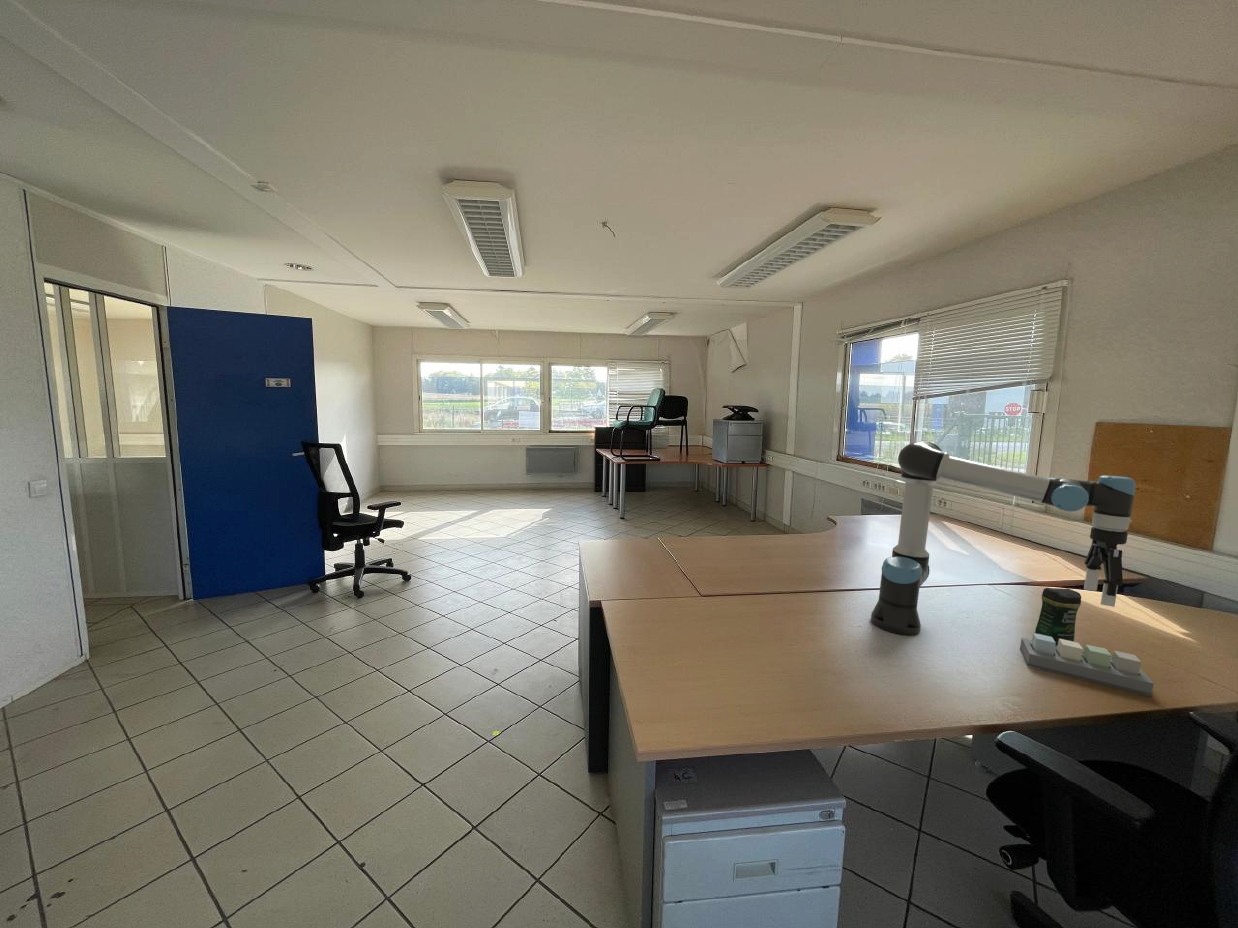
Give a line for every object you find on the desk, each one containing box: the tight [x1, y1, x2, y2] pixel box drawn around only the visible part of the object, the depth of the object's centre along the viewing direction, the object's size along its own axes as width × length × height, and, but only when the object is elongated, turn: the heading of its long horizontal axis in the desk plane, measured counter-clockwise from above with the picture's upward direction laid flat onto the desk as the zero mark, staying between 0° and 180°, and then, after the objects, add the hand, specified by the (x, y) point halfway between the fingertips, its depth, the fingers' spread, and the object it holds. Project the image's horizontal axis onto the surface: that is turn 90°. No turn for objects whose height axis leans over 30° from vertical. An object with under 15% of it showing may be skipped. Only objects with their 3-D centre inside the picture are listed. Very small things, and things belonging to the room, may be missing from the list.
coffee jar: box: [1034, 587, 1082, 646], centre depth 157 cm, size 10×8×19 cm
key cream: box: [1057, 639, 1084, 661], centre depth 141 cm, size 4×4×4 cm
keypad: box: [1019, 637, 1155, 698], centre depth 140 cm, size 26×12×4 cm, turn 58°
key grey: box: [1111, 650, 1142, 675], centre depth 134 cm, size 4×4×4 cm
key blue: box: [1031, 632, 1056, 655], centre depth 144 cm, size 4×4×4 cm
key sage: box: [1083, 644, 1112, 668], centre depth 137 cm, size 4×4×4 cm
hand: (1098, 597), depth 140 cm, fingers open, 13 cm apart
